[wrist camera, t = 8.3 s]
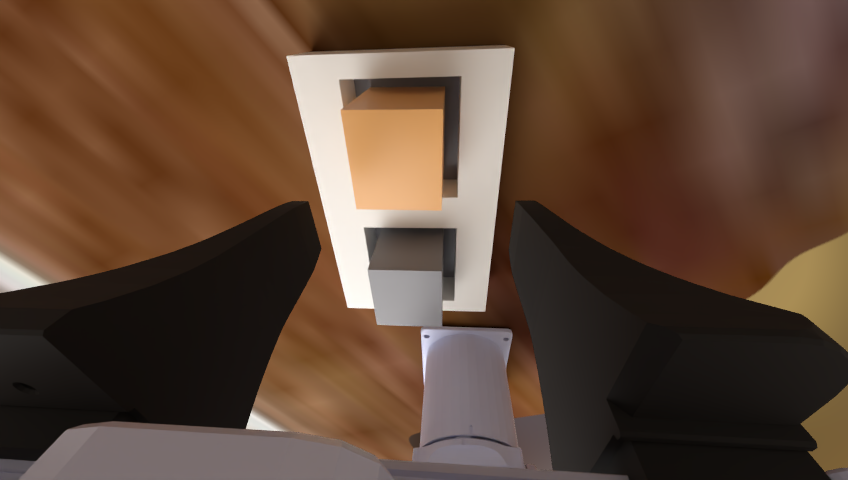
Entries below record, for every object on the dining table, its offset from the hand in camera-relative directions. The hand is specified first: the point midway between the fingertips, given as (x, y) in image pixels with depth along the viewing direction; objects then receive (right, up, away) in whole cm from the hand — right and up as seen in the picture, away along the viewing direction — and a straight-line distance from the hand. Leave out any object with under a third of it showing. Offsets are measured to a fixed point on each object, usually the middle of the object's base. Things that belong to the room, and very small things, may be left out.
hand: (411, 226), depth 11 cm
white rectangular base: (0, +3, +9) cm, 10 cm away
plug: (0, +6, +7) cm, 9 cm away
